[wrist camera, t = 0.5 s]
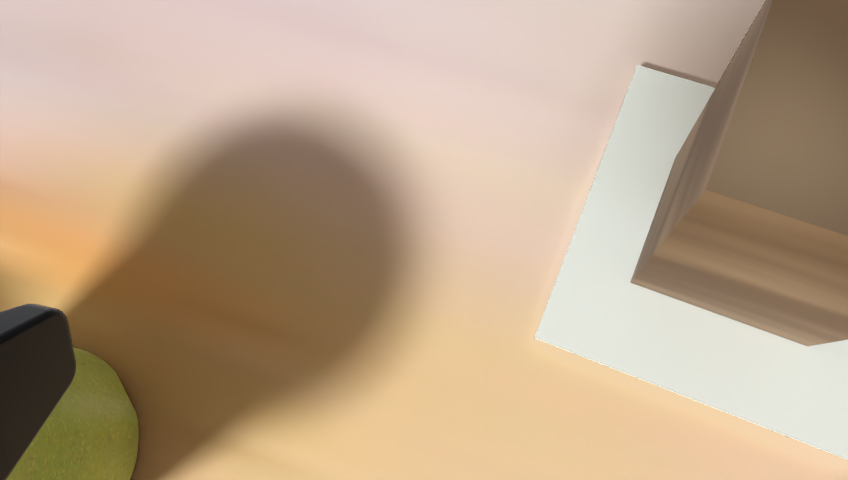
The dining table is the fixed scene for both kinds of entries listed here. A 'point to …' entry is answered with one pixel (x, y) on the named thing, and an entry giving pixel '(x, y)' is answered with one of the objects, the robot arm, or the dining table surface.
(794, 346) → the tile
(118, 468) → the plant pot
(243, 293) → the dining table surface
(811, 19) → the block
